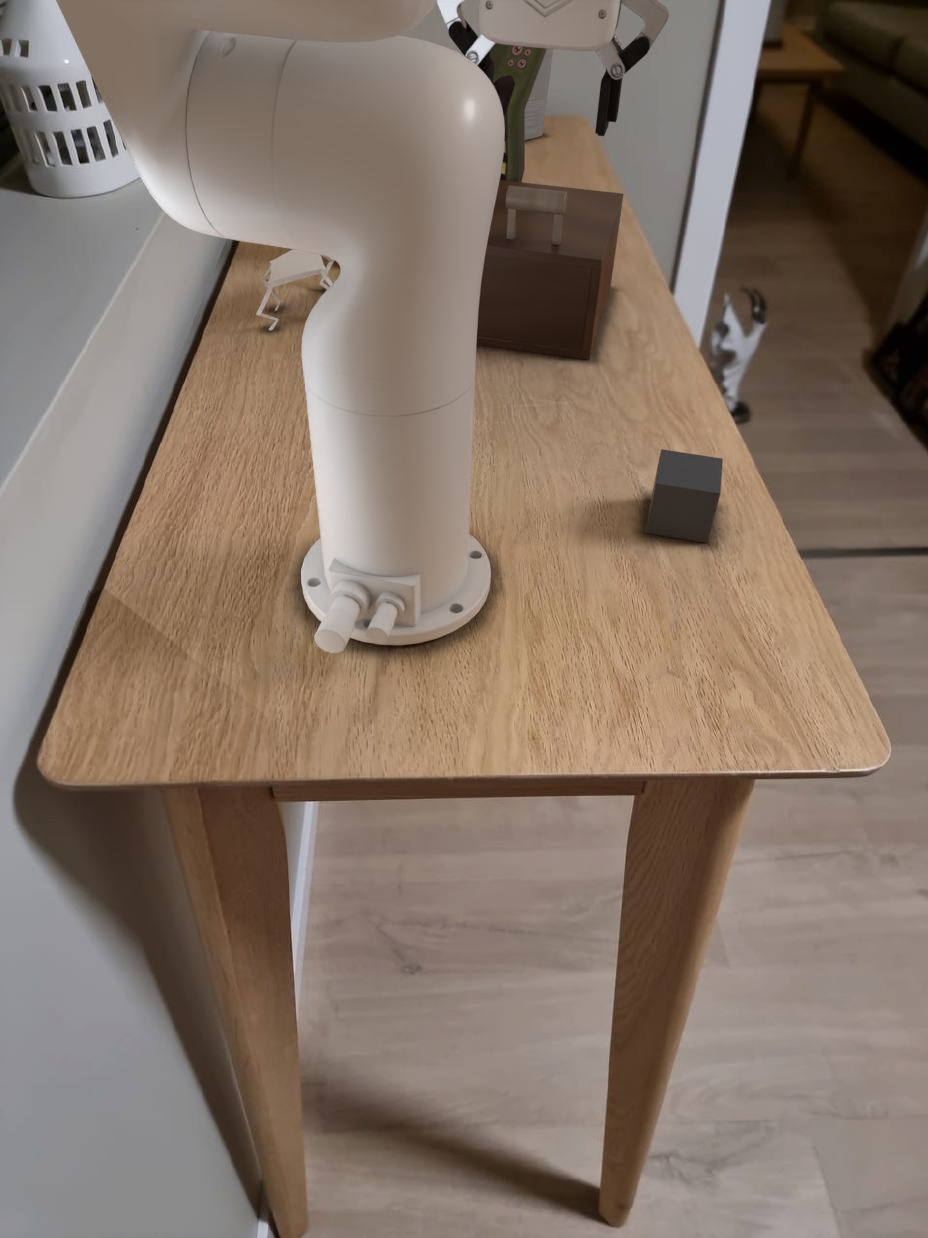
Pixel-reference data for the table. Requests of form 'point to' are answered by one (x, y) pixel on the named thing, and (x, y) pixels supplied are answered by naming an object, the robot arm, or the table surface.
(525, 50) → the tentacle
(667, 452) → the block
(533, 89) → the cosmetic box
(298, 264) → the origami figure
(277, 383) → the table surface
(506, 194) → the lid
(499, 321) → the chest
